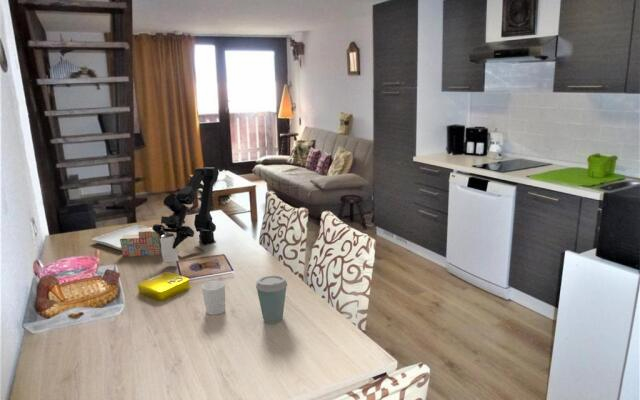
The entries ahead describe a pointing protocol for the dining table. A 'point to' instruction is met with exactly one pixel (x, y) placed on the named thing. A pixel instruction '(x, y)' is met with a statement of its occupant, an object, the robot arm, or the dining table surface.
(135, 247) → the stack of blocks
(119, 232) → the square plate
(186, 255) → the tan flat board
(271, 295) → the disposable coffee cup
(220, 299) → the white cup
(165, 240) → the can
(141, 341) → the dining table surface
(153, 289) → the element tile
